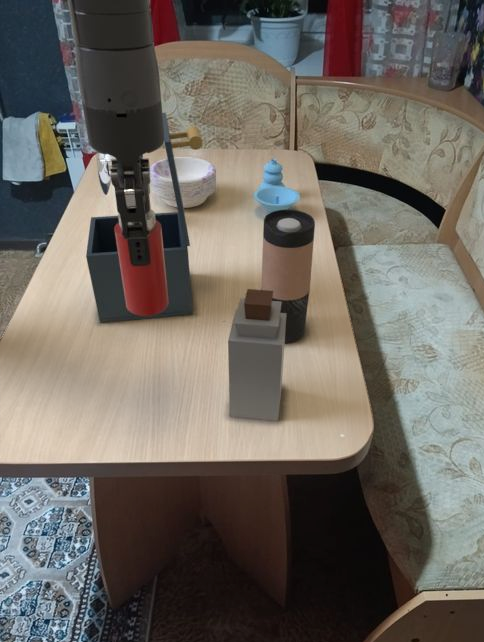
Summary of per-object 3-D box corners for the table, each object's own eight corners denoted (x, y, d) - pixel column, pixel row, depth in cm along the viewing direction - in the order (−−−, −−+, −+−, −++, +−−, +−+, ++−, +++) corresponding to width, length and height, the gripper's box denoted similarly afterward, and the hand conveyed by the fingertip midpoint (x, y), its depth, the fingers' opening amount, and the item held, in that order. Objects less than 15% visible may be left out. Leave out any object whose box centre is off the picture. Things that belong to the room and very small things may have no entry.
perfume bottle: (236, 383, 81) (235, 280, 69) (281, 387, 80) (288, 284, 69) (229, 416, 75) (227, 310, 64) (278, 421, 75) (284, 315, 64)
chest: (100, 323, 91) (85, 256, 83) (103, 280, 102) (91, 217, 94) (192, 314, 94) (187, 248, 86) (186, 273, 104) (181, 211, 96)
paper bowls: (222, 210, 126) (221, 177, 121) (156, 216, 123) (152, 182, 118) (211, 185, 137) (209, 153, 132) (150, 189, 134) (146, 157, 129)
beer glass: (107, 231, 117) (95, 162, 107) (106, 217, 122) (95, 150, 112) (140, 228, 118) (131, 160, 108) (138, 215, 123) (129, 148, 114)
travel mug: (296, 314, 95) (304, 206, 82) (312, 340, 89) (324, 228, 76) (254, 321, 93) (256, 212, 80) (268, 348, 87) (272, 235, 75)
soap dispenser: (301, 223, 122) (304, 184, 116) (255, 224, 121) (255, 185, 115) (291, 190, 136) (293, 154, 130) (249, 191, 135) (250, 154, 129)
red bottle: (117, 308, 67) (102, 217, 59) (143, 288, 70) (132, 200, 63) (151, 320, 65) (140, 229, 57) (176, 299, 69) (169, 211, 61)
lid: (164, 142, 75) (203, 136, 75) (160, 113, 85) (194, 108, 86) (185, 246, 85) (218, 241, 86) (179, 209, 96) (209, 204, 96)
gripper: (86, 77, 57) (110, 224, 68) (74, 119, 46) (104, 287, 57) (158, 76, 58) (170, 221, 69) (163, 117, 47) (176, 282, 58)
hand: (140, 250), depth 63 cm, fingers closed on red bottle, 5 cm apart
